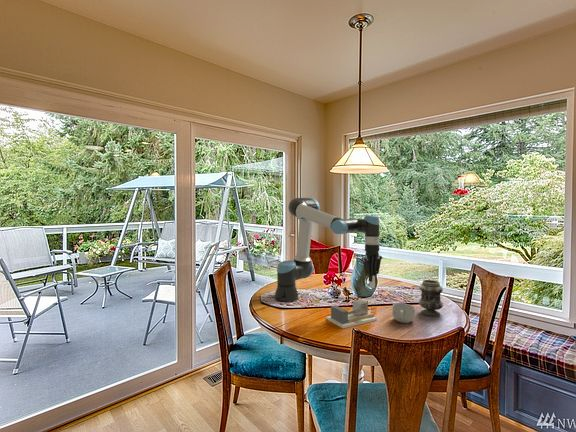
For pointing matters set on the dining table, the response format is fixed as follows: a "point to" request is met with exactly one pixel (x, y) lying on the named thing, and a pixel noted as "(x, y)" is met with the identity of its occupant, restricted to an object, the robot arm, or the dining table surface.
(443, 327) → the dining table surface
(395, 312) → the teacup
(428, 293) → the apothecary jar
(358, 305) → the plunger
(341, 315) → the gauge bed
